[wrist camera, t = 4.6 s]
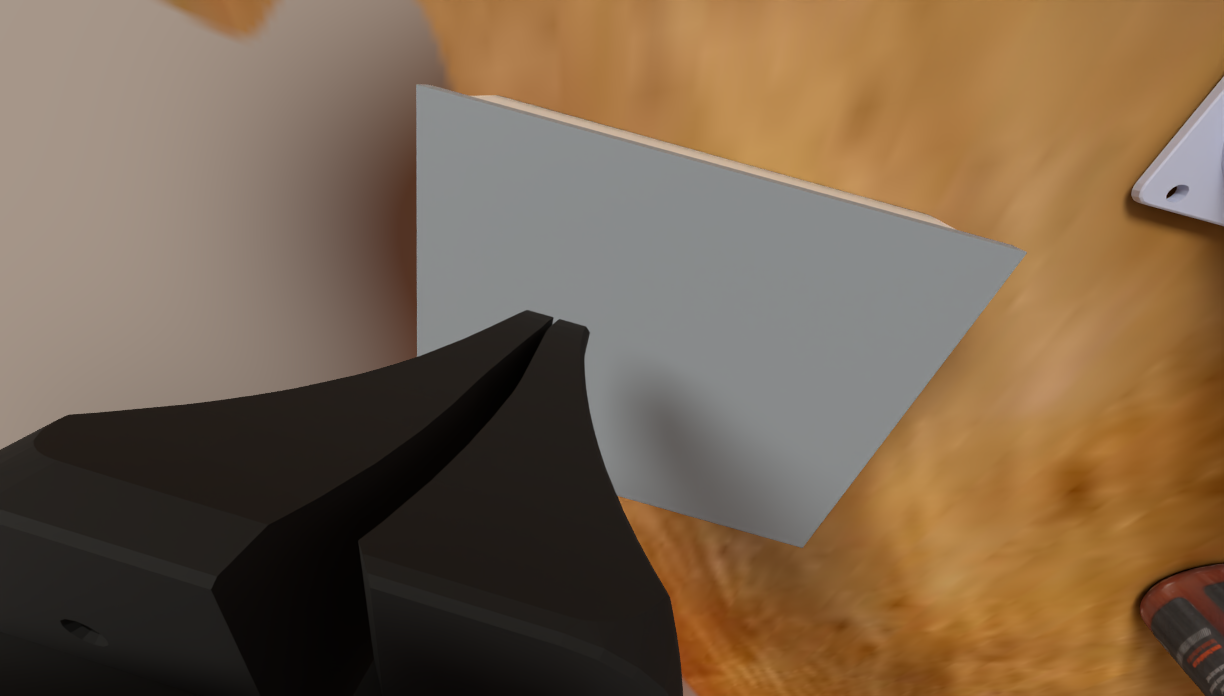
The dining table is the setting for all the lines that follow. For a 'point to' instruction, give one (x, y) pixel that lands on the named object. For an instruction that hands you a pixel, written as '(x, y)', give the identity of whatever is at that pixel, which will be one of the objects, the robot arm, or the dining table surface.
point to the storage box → (708, 157)
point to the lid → (695, 304)
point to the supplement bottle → (1191, 623)
